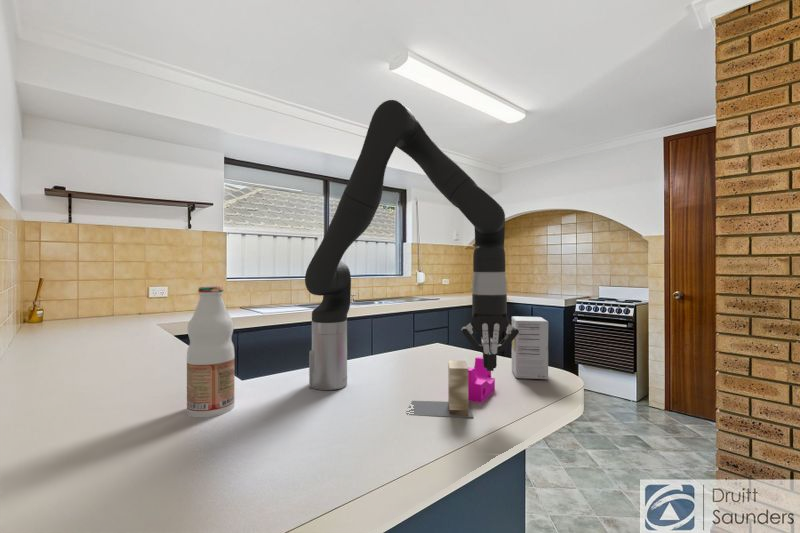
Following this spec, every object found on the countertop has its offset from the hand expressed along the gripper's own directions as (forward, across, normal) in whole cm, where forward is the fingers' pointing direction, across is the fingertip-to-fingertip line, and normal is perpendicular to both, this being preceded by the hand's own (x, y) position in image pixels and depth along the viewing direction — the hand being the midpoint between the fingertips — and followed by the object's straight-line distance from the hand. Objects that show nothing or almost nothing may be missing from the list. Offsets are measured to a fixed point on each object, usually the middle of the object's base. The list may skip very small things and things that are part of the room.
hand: (489, 369), depth 87 cm
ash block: (+9, -7, 0) cm, 11 cm away
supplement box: (+10, +16, +31) cm, 36 cm away
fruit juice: (+9, -61, -7) cm, 62 cm away
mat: (+9, -12, 0) cm, 15 cm away
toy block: (+10, -1, +14) cm, 17 cm away
